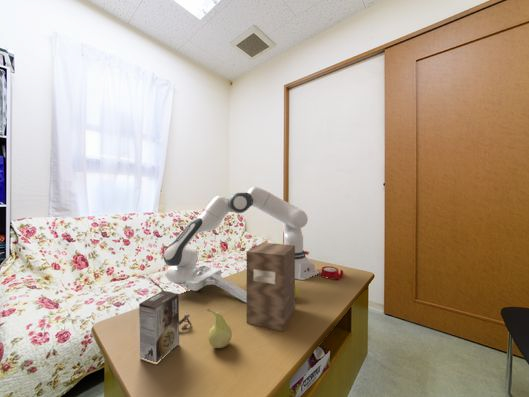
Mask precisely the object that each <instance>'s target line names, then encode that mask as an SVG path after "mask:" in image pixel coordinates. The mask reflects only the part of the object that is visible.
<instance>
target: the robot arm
mask: <svg viewBox="0 0 529 397" xmlns="http://www.w3.org/2000/svg"><path fill="white" fill-rule="evenodd" d="M251 207H254V208H257V209H258V210H260V211H262V212H264V213H265V214H267V215H269V216H271V217H273V218H275V219H276V220H278V221H280V222H281V223H282V229H283V230H282V231H283V244H286V245H295V280H300V281H305V280H308V279H311V278H313V277H315V275H316V276H318V275H320V273H319V270H318V269H315V263H314V262H313V261H312V260H311V259H309V258H308V257H307V256H309V254H310V252H309V251H307V250H304V236H303V232H302V228H304V227H305V226H306V225H307V224H308V215H307V213H306V212H305V211H304V210H303V209H301V208H299V207H297V206H296V205H293V204H292V203H290V202H287V201H285V200H284V199H282V198H280V197H278V196H276V195H274V194H273V193H271V192H269V191H267V190H265V189H263V188H260V187H257V186H252V187H250V188H249V189H248V191H247V192H236V193H234V194H232V195H231V196H230V197H228V198H227V197H225V196H223V195H216V196H215V197H213V199H211V201H210V202H208V204H207V205H206V207H205V208H204V210H203V211H202V213H200V215H198V216H197V217H196V218H194V219H193V220H191V221H190V222H189V223H188V225H187V226H186V227H185V228H184V229H183V230H182V232H181V233H180V234H179V236H177V237H176V239H174V240H173V242H171V243H170V245H168V246H167V247H166V248H165V250H164V251H163V255H162V256H163V260H164V261H163V262H164V263H165V264H166V266H168V267H167V269H166V271H165V278H167V281H169V282H170V283H173V284H176V285H181V286H182V287H185V288H186V289H187V290H190V291H194V292H197V291H199V290H201V289H202V288H204V287H205V286H210V285H215V284H216V283H217V282H216V280H215V279H213V280H210V275H212V274H217V275H219V276H220V277H222V278H223V276H222V269H221V268H219V267H218V268H217V267H212V266H211V267H209V266H208V265H202V266H196V264H197V261H198V252H197V251H196V250H195V249H193V248H190V247H187V246H188V245H189V244H190V243H191V241H193V239H194V238H195V236H197V235H198V234H200V233H203V232H210V231H211V232H212V231H214V230H216V229H217V228H218V227H219V226H220V225H221V223H222V221H223V220H224V218H225V217H226V215H227V214H228V213H230V212H231V213H235V214H242V213H245V212H246V211H247V210H248V209H250V208H251ZM306 255H307V256H306ZM317 274H318V275H317ZM312 276H313V277H312ZM310 277H311V278H310Z"/></svg>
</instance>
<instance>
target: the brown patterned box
mask: <svg viewBox="0 0 529 397" xmlns="http://www.w3.org/2000/svg"><path fill="white" fill-rule="evenodd" d="M295 280H296V279H295V245H286V244H284V243H272V242H262V243H259V244H258V245H256V246H254V247H252V248H250V249H249V250H247V251H246V291H247V303H246V324H250V325H254V326H259V327H263V328H267V329H270V330H271V329H272V330H276V331H280V332H285V330H286V328H287V326H288V324H289V322H290V320H291V317H292V316H293V313H294V311H295V308H296V306H295V305H296V298H295V285H296V281H295Z"/></svg>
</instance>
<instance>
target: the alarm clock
mask: <svg viewBox="0 0 529 397" xmlns="http://www.w3.org/2000/svg"><path fill="white" fill-rule="evenodd" d="M321 275H322V276H324V277H328V278H334V279H338V280H339V279H340V278H341V277H342V276H343V277H344V278H346V277H347V275H346V274H345V273H344V270H342V269H340V273H339V269H338V267H335V266H330V265H329V266H327V265H326V266H322V267H321V269H320V276H321ZM322 276H321V277H322ZM324 277H323V278H324ZM343 277H342V278H343ZM328 278H327V279H328ZM334 279H333V280H334Z"/></svg>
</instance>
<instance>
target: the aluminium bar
mask: <svg viewBox="0 0 529 397" xmlns="http://www.w3.org/2000/svg"><path fill="white" fill-rule="evenodd" d="M213 279H215V280H216V282H217V283H216V284H214V285H215V286H216V287H218V288H220V289H221V290H222V291H225V292H226V293H228V294H230V295H232V296H233V297H235V298H237V299H238V300H240V301H241V302H244V304H245V303H246V304H247V290H245V289H243V287H240V286H238V285H236V284H235V283H233V282H231V281H230V280H228V279H226V278H224V277H223V276H222V277H220V276H219V275H217V274H212V275H210V280H213Z"/></svg>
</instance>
